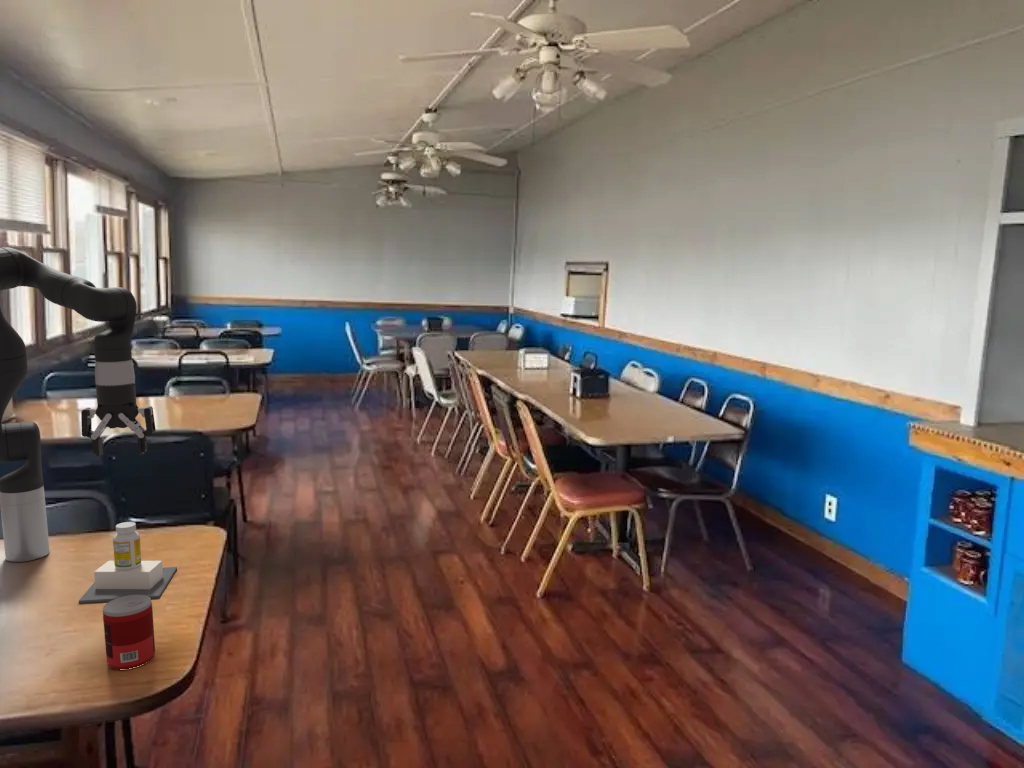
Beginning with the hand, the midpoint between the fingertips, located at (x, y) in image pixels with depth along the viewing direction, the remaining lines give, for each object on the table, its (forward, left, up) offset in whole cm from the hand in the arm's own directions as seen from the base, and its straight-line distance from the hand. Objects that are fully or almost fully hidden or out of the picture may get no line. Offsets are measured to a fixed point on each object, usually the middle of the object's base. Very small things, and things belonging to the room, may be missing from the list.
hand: (120, 454), depth 168 cm
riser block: (0, 0, -30) cm, 30 cm away
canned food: (+35, +10, -30) cm, 47 cm away
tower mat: (0, 0, -30) cm, 30 cm away
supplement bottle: (0, 0, -26) cm, 26 cm away
